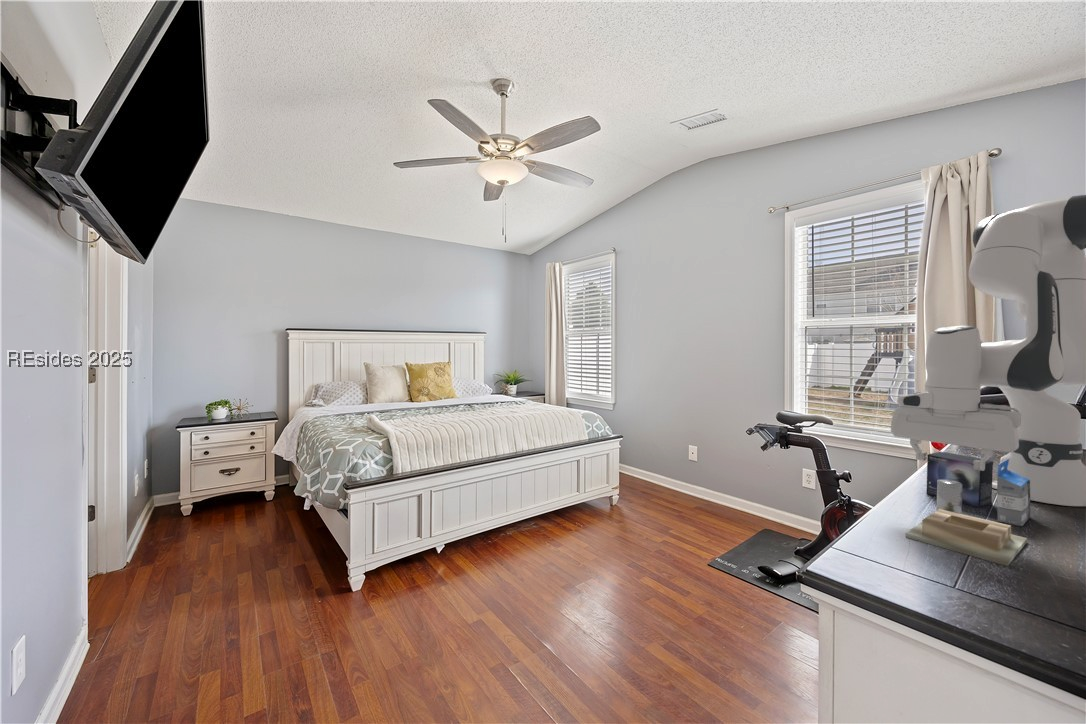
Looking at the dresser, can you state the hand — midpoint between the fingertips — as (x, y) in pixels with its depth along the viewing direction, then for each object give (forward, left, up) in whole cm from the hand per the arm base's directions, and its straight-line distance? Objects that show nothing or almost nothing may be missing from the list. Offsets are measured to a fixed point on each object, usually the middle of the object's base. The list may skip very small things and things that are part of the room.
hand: (948, 464), depth 95 cm
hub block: (+10, +5, -12) cm, 17 cm away
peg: (-1, 0, -12) cm, 12 cm away
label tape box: (-12, +8, -12) cm, 19 cm away
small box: (-19, -2, -12) cm, 22 cm away
